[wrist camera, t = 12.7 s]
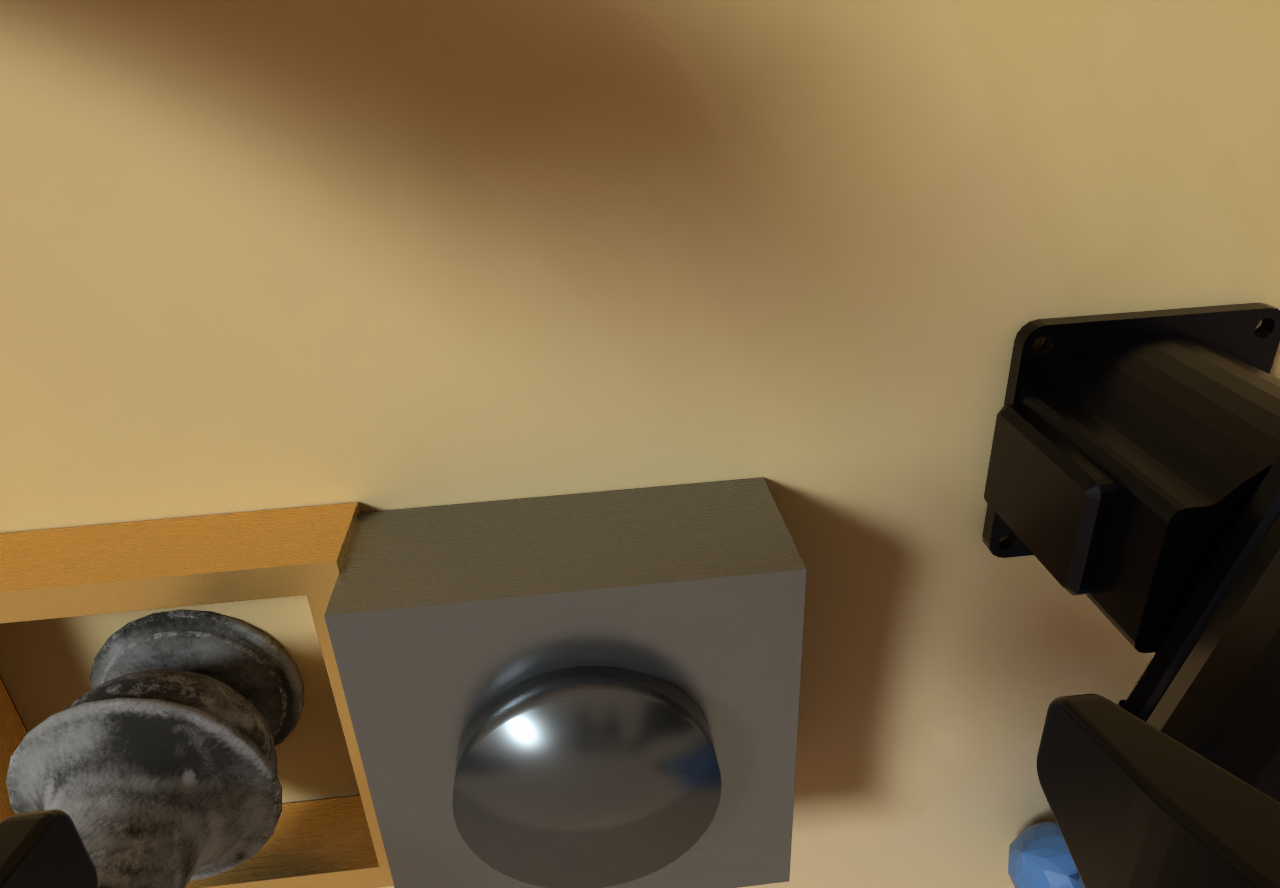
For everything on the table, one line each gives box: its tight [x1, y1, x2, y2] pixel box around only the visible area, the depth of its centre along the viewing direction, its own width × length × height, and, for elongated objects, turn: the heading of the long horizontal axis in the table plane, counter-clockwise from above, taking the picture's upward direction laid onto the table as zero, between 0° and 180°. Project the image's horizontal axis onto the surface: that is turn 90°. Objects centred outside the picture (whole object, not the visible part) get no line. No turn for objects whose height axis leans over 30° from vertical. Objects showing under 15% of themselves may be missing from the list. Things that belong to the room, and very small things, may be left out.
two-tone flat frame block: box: [0, 478, 807, 888], centre depth 21 cm, size 21×11×5 cm, turn 93°
